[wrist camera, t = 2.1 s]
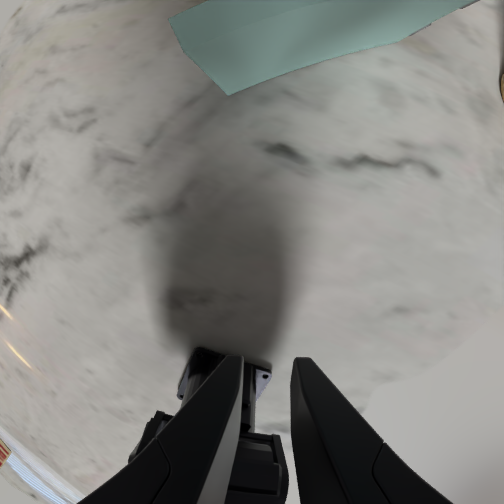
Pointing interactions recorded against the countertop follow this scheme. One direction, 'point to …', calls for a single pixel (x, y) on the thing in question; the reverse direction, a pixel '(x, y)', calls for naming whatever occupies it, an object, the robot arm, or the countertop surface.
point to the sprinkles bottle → (502, 86)
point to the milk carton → (3, 453)
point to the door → (293, 33)
